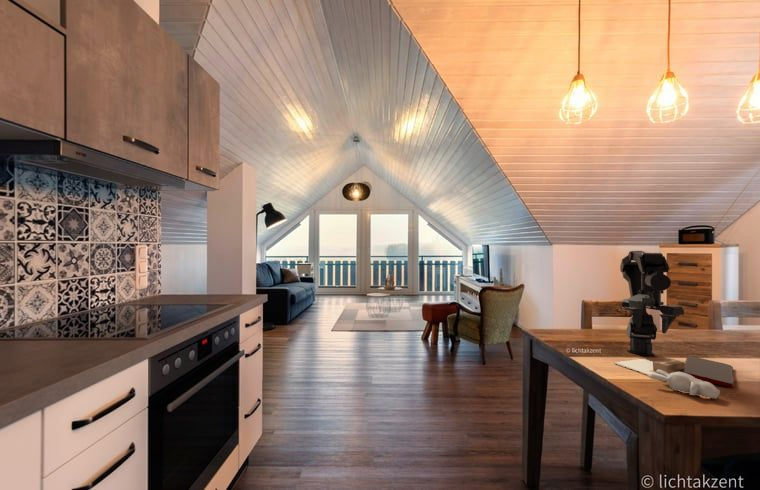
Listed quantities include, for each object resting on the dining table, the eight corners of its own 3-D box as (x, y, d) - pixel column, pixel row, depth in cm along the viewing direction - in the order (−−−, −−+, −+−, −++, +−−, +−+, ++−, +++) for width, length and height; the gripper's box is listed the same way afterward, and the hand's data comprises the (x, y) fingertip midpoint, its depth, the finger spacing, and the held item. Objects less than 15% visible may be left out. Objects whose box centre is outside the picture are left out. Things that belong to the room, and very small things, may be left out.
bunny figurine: (714, 390, 97) (649, 368, 109) (711, 408, 97) (646, 384, 109) (723, 382, 102) (659, 362, 114) (720, 399, 103) (657, 377, 115)
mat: (614, 364, 130) (614, 362, 130) (643, 360, 133) (643, 358, 133) (663, 381, 113) (663, 379, 113) (694, 376, 117) (694, 374, 117)
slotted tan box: (670, 367, 123) (669, 358, 123) (685, 371, 118) (684, 361, 119) (653, 371, 120) (652, 361, 121) (667, 374, 116) (666, 365, 116)
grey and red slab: (733, 364, 125) (734, 384, 107) (732, 369, 125) (733, 389, 107) (687, 354, 133) (680, 371, 115) (686, 358, 133) (680, 375, 115)
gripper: (610, 285, 137) (610, 325, 137) (660, 291, 119) (660, 338, 119) (632, 284, 140) (632, 324, 140) (685, 290, 122) (685, 336, 122)
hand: (650, 330), depth 130 cm, fingers open, 9 cm apart
